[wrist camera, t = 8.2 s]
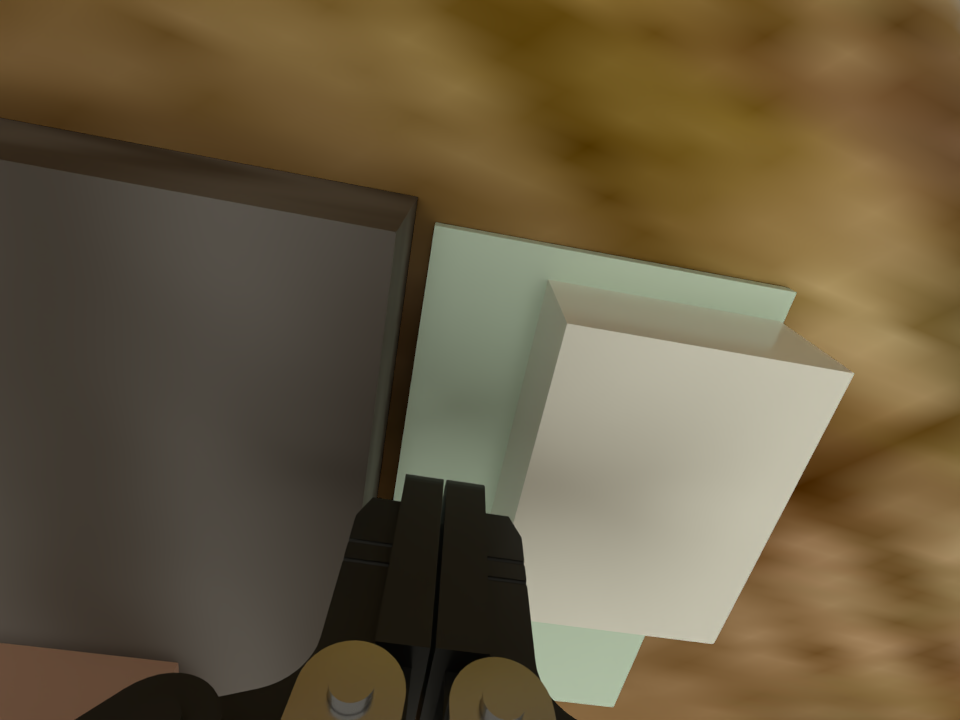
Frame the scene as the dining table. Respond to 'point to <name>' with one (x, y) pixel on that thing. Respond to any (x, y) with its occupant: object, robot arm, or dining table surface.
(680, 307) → the cream tile
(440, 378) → the mat
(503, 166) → the dining table surface
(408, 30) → the dining table surface
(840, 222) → the dining table surface
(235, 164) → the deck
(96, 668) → the salmon pink block
